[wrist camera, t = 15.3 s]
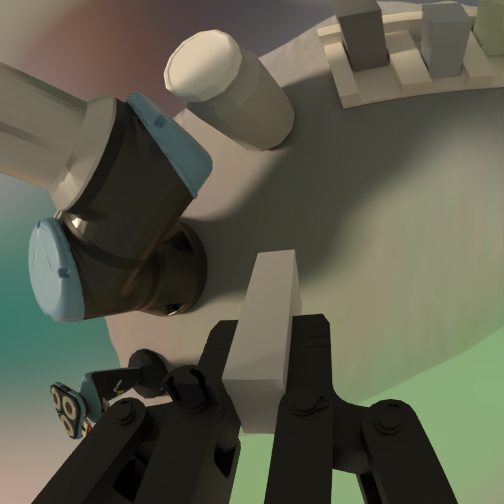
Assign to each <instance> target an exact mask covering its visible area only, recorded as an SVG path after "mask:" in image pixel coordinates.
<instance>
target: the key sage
mask: <svg viewBox="0 0 504 504" xmlns="http://www.w3.org/2000/svg"><path fill="white" fill-rule="evenodd" d="M473 35H474V36H475V38H476V40H477V41H478V43H479V45H480V47H481V49H482V50H483V52H484V54H485V56H504V0H480V1H479V6H478V11H477V16H476V21H475V25H474V30H473Z"/></svg>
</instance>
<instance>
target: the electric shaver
mask: <svg viewBox="0 0 504 504" xmlns="http://www.w3.org/2000/svg"><path fill="white" fill-rule="evenodd" d="M167 374H168V372H167V370H166V367H165V365H164V363H163V362H162V360H161V359H160V358H159V357H158V356H157V354H156V353H154V352H151V351H149V350H146V349H141V350H137V351H136V352H135V353H134V354H132V356H131V357H130V359H129V365H128V368H119V369H110V370H101V371H94V372H90V373H87V374H85V375H84V377H83V378H82V380H81V382H80V386H79V393H77V392H76V391H74V390H72V389H71V388H69V387H67V386H66V385H64V384H62V383H60V382H56V383H54V384H53V385H51V395H52V399H53V402H54V405H55V407H56V410H57V413H60V414H58V416H59V418H60V420H61V421H62V424H63V426H64V428H65V430H66V431H67V433H68V435H69V436H70V437H71V438H72V439H80V438H82V437H83V436H84V437H85V436H86V435H87V434H88V433H89V432H90V430H91V429H92V427H91V426H90V425H91V424H90V422H89V421H88V419H89V420H90V421H91V422H93V423H97V422H98V421H99V419H100V418H101V417H102V416H103V415H104V413H105V412H106V411H107V410H108V408H109V406H110V404H109V403H108V402H107V401H109V400H111V399H113V398H115V397H117V396H119V395H121V394H123V393H125V392H127V391H128V390H130V389H131V388H134V390H135V391H136V392H137V393H138V394H139V395H141V396H142V397H144V398H145V399H146V398H155V397H157V396H160V395H163V394H164V393H165V391H166V388H165V387H164V385H163V383H162V381H163V379H164V378H165V376H166V375H167ZM87 417H88V419H87Z"/></svg>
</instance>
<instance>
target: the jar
mask: <svg viewBox="0 0 504 504" xmlns="http://www.w3.org/2000/svg"><path fill="white" fill-rule="evenodd" d="M164 78H165V83H166V88H167V89H168V90H170V91H171V92H172V93H174V94H175V95H176V96H178V97H179V98H181V99H183V100H184V101H185V102H186V106H187V109H188V110H190V111H191V112H192V113H194V114H195V115H196V116H197V117H199V118H200V119H202V120H203V121H205V122H206V123H208V124H209V125H211V126H212V127H214V128H215V129H217V130H218V131H220V132H221V133H223V134H224V135H226V136H227V137H229V138H230V139H232V140H233V141H235V142H236V143H238V144H239V145H241V146H242V147H244V148H245V149H246V150H255V151H265V150H267V149H270V148H272V147H275V146H277V145H279V144H280V143H281V142H282V141H283V140H284V139H285V138H286V136H287V135H288V134H289V133H290V132H291V131H292V126H293V122H294V117H295V113H294V110H293V107H292V105H291V103H290V100H289V99H288V97H287V96H286V94H285V93H284V92H283V90H282V89H281V88H280V86H279V85H278V84H277V82H276V81H275V80H274V78H273V77H272V76H271V75H270V73H269V72H268V71H267V69H266V68H265V67H264V66H263V64H262V63H261V62H260V60H259V59H258V58H257V57H256V56H255V54H253V53H251V52H249V51H247V50H245V49H243V48H241V47H238V44H237V43H236V42H235V41H234V40H233V38H232V37H231V36H230V35H228V34H226V33H223V32H221V31H219V30H210V31H204V32H199V33H197V34H196V35H194V36H192V37H191V38H189V39H187V40H186V41H184V42H183V43H182V44H181V45H180V46H179V47H178V48H177V49H176V51H175V52H174V53H173V54H172V55H171V56H170V58H169V61H168V64H167V67H166V69H165V72H164Z"/></svg>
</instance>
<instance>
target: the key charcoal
mask: <svg viewBox="0 0 504 504" xmlns="http://www.w3.org/2000/svg"><path fill="white" fill-rule="evenodd" d="M331 4H332V7H333V10H334V12H335V15H336V18H337V21H338V24H339V27H340V30H341V33H342V36H343V39H344V43H345V46H346V49H347V52H348V56H349V58H350V61H351V64H352V67H353V70H354V72H356V71H361V70H366V69H371V68H377V67H383V66H388V61H387V51H386V42H385V34H384V27H383V20H382V13H381V9H380V7H379V5H378V4H377V2H376V0H336V1H332V2H331Z"/></svg>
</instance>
